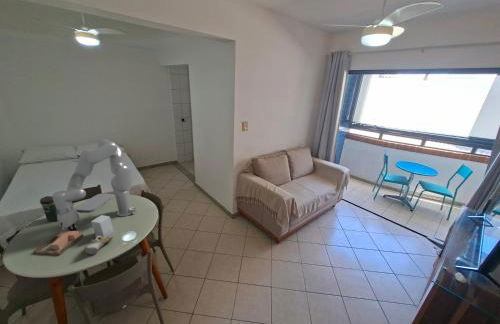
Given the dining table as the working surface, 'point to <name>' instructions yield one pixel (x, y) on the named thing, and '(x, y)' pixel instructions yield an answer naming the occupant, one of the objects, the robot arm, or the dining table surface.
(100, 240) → the ceramic sculpture
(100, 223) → the supplement box
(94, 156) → the robot arm
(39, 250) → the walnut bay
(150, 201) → the dining table surface
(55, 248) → the t block
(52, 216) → the coffee jar
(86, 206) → the tablet
